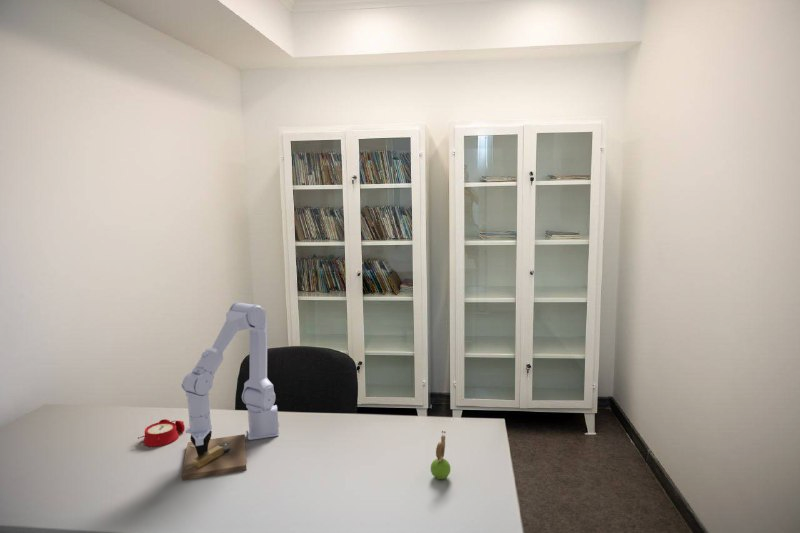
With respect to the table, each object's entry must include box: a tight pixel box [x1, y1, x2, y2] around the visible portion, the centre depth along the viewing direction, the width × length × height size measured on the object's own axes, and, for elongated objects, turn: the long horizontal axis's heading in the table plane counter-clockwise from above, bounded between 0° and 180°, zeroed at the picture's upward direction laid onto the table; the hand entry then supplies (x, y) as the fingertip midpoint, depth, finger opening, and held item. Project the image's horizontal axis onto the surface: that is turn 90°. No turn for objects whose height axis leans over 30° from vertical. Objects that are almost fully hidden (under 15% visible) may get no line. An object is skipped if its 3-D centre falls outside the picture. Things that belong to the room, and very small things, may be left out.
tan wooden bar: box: [193, 441, 230, 468], centre depth 154 cm, size 12×3×2 cm, turn 152°
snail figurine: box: [430, 430, 451, 480], centre depth 145 cm, size 5×6×12 cm
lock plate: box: [181, 434, 247, 481], centre depth 158 cm, size 17×20×2 cm
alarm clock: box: [137, 418, 186, 448], centre depth 172 cm, size 10×6×15 cm
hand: (202, 457), depth 154 cm, fingers closed, pressing on tan wooden bar
